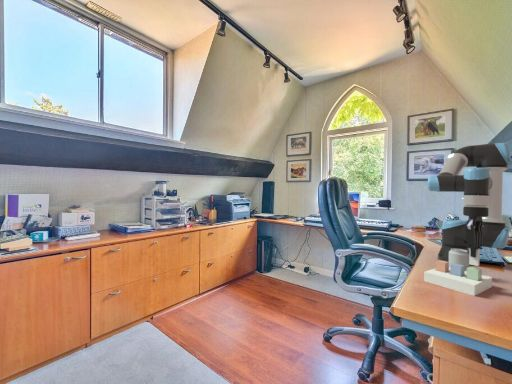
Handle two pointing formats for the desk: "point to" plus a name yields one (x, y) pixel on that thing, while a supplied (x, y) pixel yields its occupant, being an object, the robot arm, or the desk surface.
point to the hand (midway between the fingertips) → (474, 264)
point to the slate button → (457, 269)
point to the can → (459, 257)
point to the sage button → (474, 274)
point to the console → (458, 282)
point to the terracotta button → (442, 266)
